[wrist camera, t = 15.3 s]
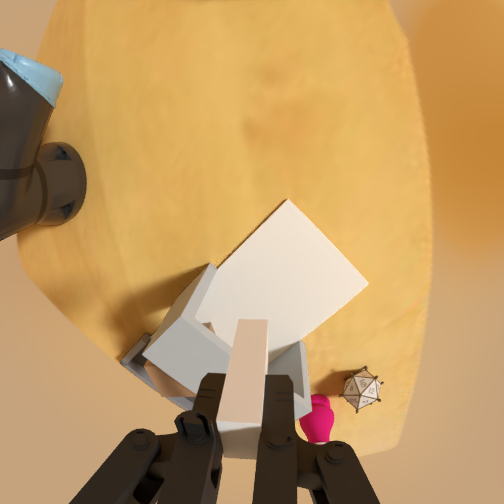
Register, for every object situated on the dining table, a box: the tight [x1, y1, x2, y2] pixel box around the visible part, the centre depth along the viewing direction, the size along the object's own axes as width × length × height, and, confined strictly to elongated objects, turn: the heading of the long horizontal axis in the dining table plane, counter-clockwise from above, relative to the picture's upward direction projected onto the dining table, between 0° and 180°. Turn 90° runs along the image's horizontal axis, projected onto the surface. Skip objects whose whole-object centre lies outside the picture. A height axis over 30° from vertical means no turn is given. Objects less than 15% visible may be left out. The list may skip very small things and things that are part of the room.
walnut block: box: [144, 322, 216, 397], centre depth 45 cm, size 9×7×11 cm
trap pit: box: [120, 333, 196, 411], centre depth 54 cm, size 10×21×2 cm, turn 47°
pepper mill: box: [299, 395, 334, 445], centre depth 46 cm, size 7×7×20 cm
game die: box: [338, 366, 384, 414], centre depth 48 cm, size 9×8×10 cm
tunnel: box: [142, 199, 369, 420], centre depth 39 cm, size 26×22×16 cm
